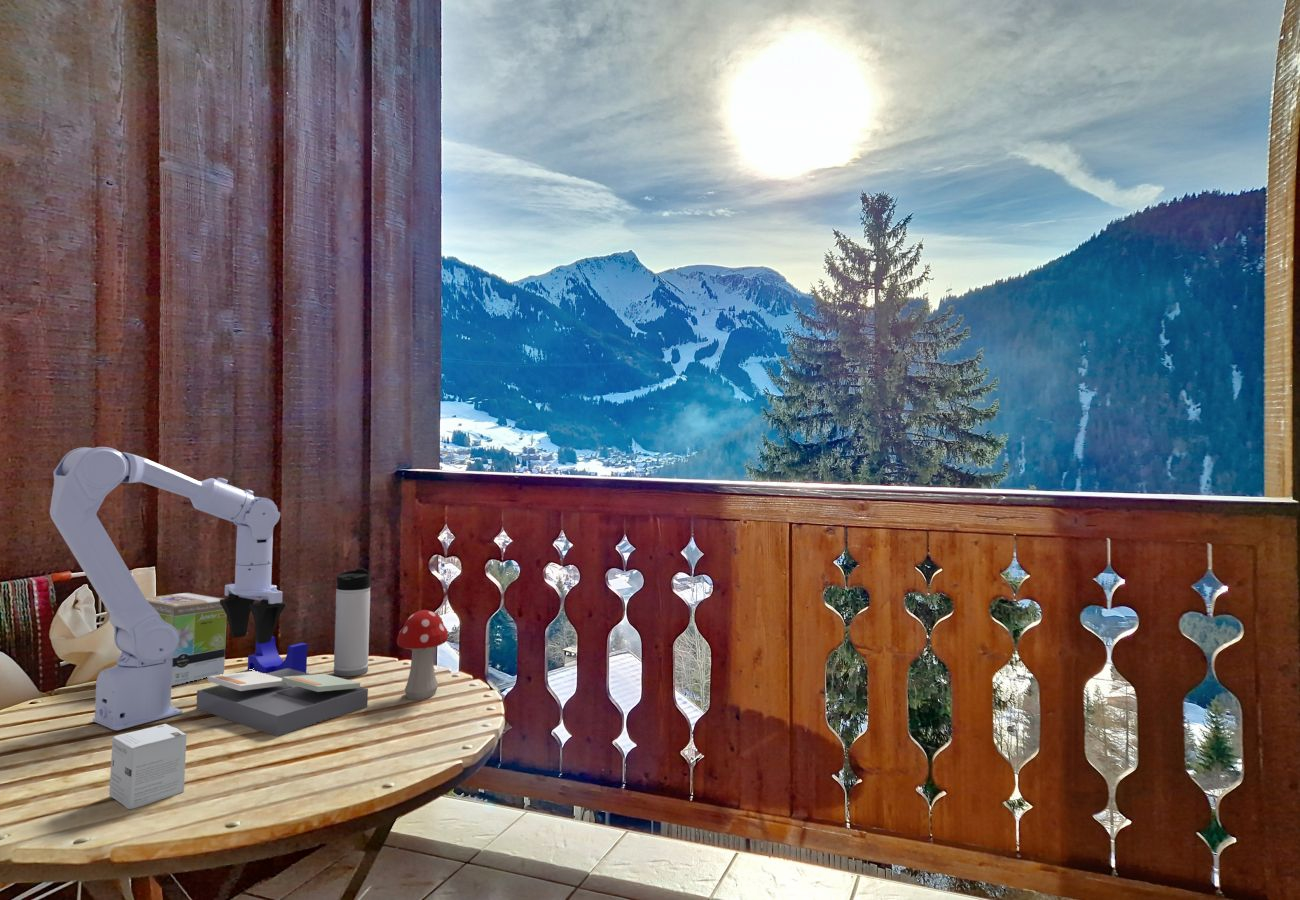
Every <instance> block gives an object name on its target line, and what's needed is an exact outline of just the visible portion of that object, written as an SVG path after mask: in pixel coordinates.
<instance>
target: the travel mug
mask: <svg viewBox="0 0 1300 900" xmlns="http://www.w3.org/2000/svg"><path fill="white" fill-rule="evenodd" d="M335 590H336V592H335V615H334V616H335V621H334V622H335V623H334V624H335V625H334V652H333V653H334V654H333V657H334V658H333V674H334V675H335V677H340V678H342V677H343V678H345V677H346V678H348V677H349V678H350V677H357V676H361V675H365V674H366V673H367V672H368V670H369V648H370V647H369V645H370V644H369V643H370V618H371V617H370V614H371V613H370V610H371V609H370V608H371V571H370V570H367V568H356V569H355V570H348V571H343V572H340V573H338V574H337V575H336V589H335Z"/></svg>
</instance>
